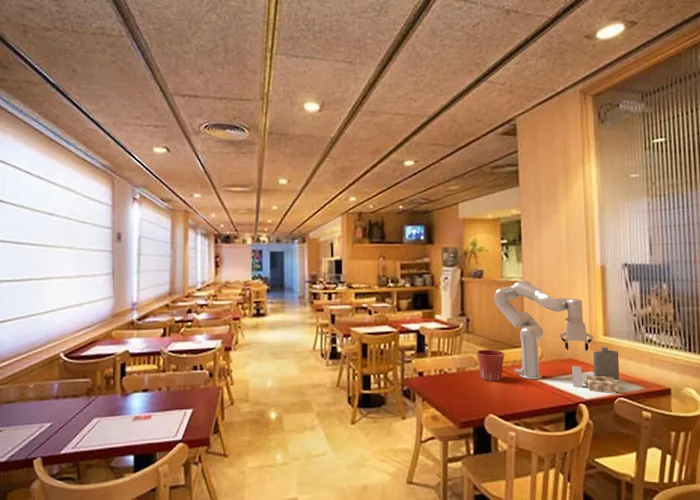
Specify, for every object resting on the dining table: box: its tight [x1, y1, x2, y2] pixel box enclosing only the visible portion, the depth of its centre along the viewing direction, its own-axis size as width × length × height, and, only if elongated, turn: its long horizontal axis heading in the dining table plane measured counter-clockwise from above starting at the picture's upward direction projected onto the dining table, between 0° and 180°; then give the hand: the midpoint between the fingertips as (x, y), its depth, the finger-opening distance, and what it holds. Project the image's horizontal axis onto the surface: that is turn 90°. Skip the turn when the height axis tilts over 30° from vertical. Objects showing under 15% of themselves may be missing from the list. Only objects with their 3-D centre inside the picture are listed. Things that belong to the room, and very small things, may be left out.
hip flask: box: [593, 346, 620, 381], centre depth 239 cm, size 16×4×20 cm, turn 100°
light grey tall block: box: [571, 365, 583, 388], centre depth 230 cm, size 4×4×11 cm
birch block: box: [584, 374, 620, 394], centre depth 225 cm, size 14×14×5 cm
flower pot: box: [476, 349, 506, 382], centre depth 247 cm, size 16×16×16 cm
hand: (576, 350), depth 230 cm, fingers open, 9 cm apart
